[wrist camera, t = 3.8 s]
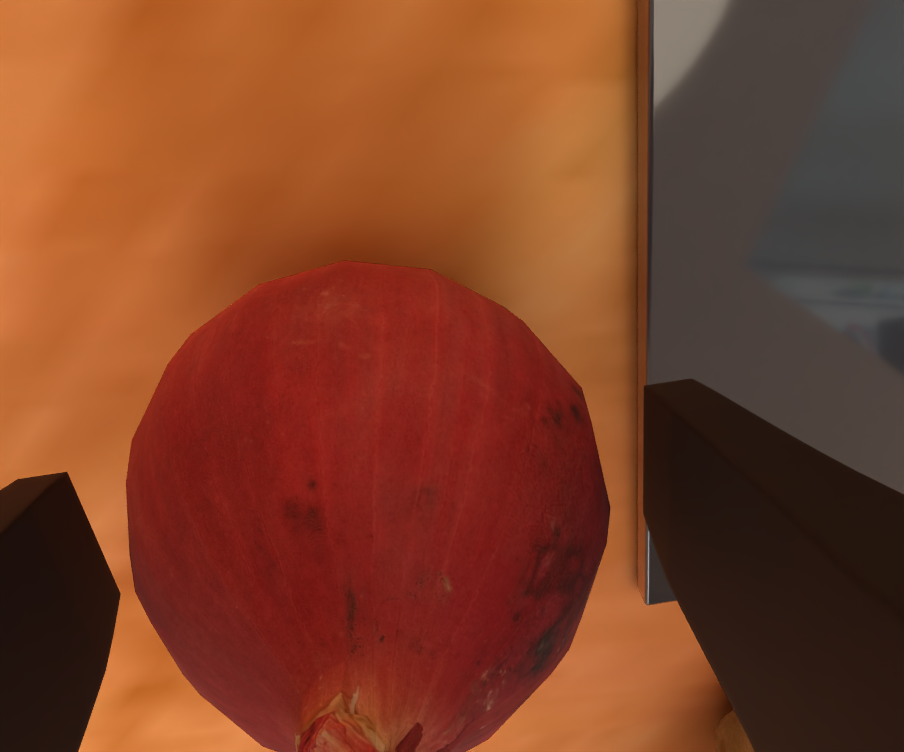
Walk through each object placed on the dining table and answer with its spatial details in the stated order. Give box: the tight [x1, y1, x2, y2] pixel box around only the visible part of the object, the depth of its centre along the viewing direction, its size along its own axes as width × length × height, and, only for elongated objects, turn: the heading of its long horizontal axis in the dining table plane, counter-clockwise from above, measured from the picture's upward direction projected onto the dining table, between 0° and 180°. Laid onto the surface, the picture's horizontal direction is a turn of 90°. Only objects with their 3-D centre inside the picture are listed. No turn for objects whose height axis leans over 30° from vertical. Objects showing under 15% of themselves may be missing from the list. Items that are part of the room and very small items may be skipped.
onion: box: [126, 261, 610, 752], centre depth 10 cm, size 6×6×8 cm
